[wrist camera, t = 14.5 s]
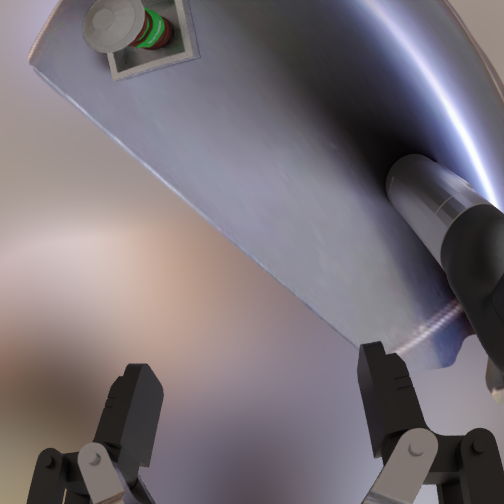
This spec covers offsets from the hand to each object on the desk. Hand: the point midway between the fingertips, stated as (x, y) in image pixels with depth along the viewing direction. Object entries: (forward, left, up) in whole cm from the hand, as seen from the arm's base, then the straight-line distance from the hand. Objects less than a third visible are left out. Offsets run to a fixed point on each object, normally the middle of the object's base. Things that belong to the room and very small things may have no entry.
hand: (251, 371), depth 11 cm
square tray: (+10, -18, -34) cm, 40 cm away
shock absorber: (+10, -18, -34) cm, 40 cm away
